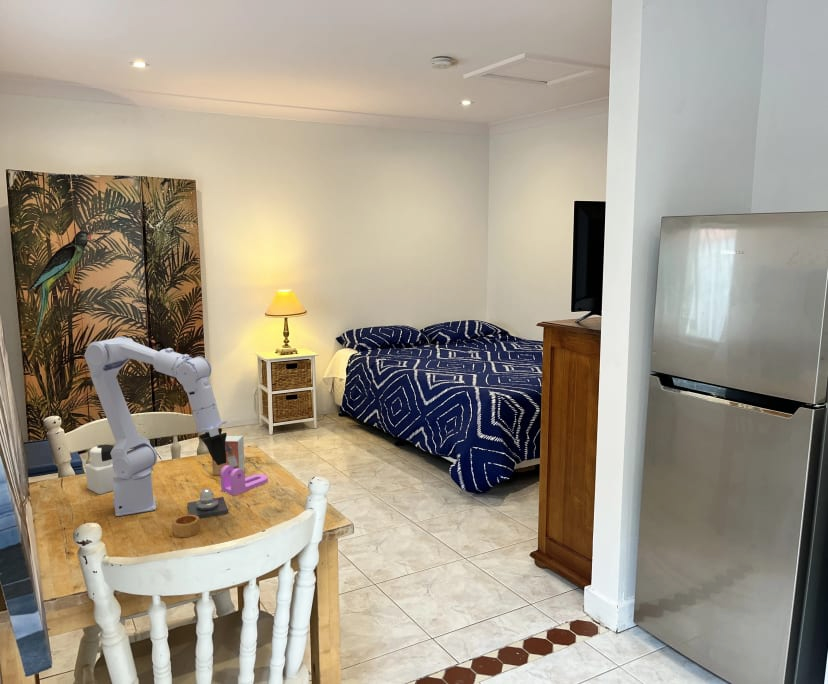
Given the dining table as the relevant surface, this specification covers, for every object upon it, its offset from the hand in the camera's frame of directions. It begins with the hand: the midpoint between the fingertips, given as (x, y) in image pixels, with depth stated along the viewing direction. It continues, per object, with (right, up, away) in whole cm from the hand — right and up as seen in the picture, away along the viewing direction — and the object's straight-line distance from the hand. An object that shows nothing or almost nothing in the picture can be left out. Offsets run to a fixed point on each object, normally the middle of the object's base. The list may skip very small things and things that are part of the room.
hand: (220, 461), depth 162 cm
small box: (-8, -10, +36) cm, 38 cm away
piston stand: (-6, -14, +10) cm, 18 cm away
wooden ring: (-7, -16, -3) cm, 18 cm away
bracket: (0, -12, +25) cm, 28 cm away
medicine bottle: (-39, -12, +25) cm, 47 cm away
